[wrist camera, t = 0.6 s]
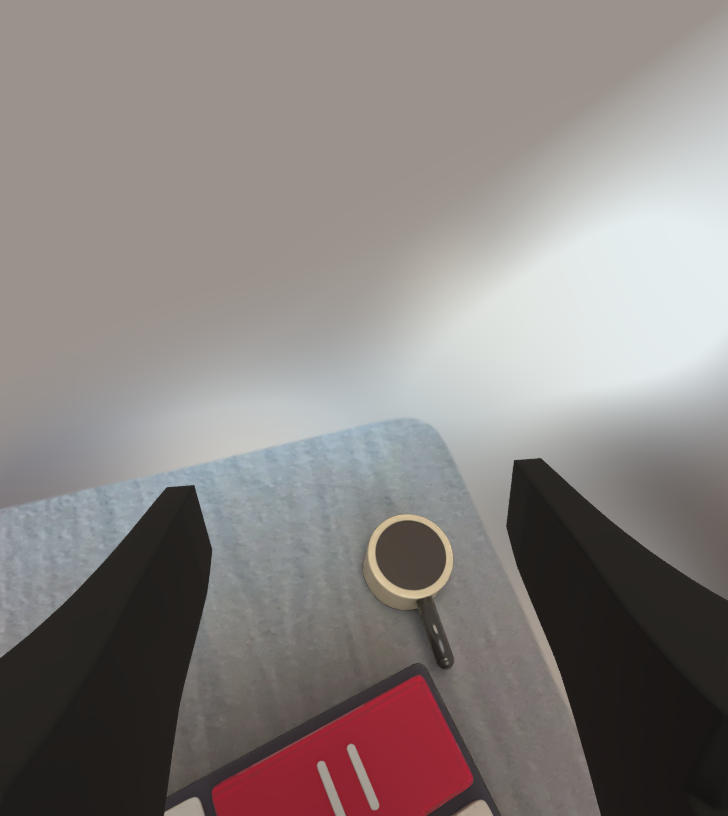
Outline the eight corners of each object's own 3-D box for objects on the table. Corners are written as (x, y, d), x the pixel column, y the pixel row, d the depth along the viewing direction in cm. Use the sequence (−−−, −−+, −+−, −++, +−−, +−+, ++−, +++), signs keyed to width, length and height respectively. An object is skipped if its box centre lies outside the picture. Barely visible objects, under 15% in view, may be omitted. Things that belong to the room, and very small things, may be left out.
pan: (353, 540, 33) (357, 524, 31) (426, 521, 34) (435, 505, 32) (397, 689, 29) (406, 682, 27) (480, 662, 30) (493, 653, 28)
